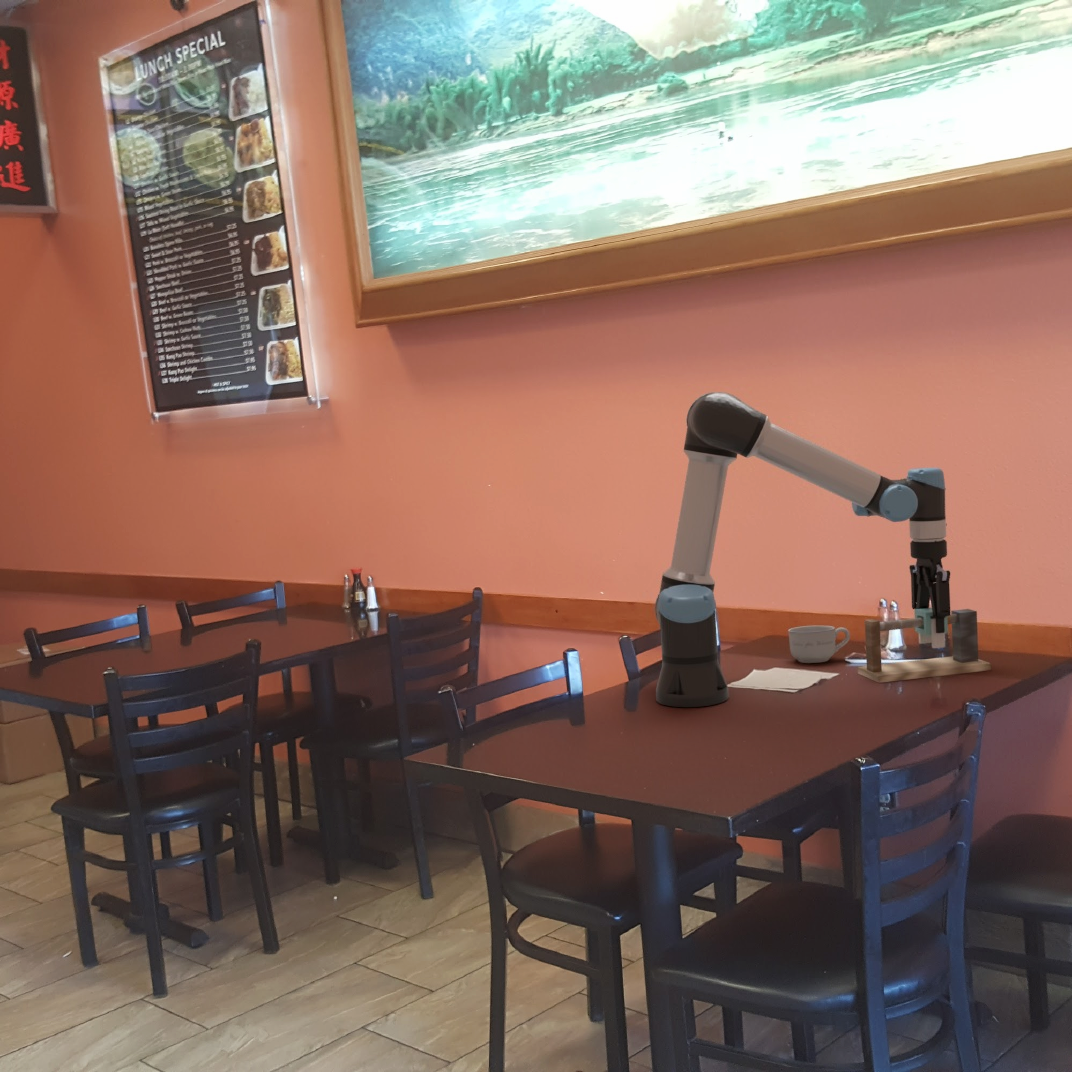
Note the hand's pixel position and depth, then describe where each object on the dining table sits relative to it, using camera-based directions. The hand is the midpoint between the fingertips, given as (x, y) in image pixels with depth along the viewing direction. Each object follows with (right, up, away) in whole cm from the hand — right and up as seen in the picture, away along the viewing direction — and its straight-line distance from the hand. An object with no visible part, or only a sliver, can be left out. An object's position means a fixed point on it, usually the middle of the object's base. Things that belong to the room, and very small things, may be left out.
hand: (931, 644), depth 261 cm
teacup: (-20, -6, +18) cm, 28 cm away
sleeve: (0, +3, 0) cm, 3 cm away
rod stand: (-2, -6, 0) cm, 6 cm away
